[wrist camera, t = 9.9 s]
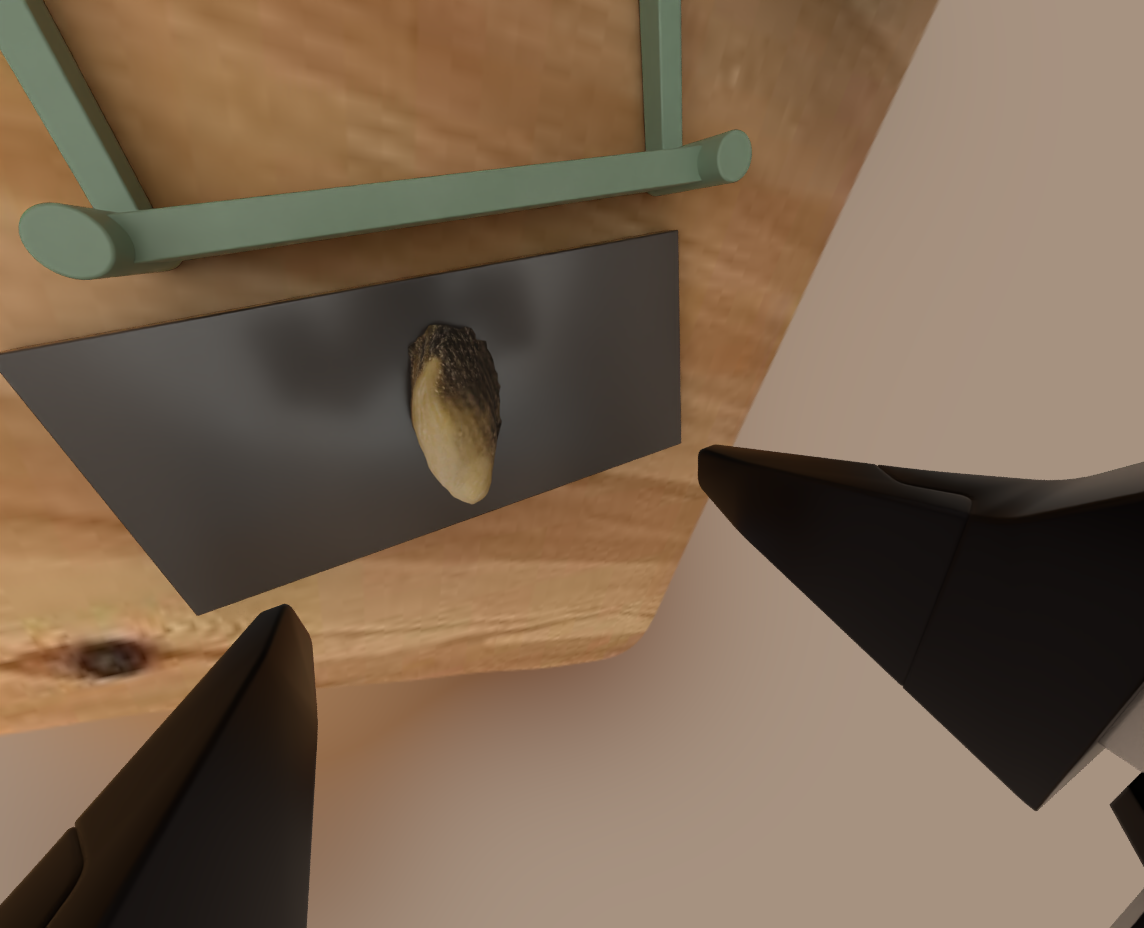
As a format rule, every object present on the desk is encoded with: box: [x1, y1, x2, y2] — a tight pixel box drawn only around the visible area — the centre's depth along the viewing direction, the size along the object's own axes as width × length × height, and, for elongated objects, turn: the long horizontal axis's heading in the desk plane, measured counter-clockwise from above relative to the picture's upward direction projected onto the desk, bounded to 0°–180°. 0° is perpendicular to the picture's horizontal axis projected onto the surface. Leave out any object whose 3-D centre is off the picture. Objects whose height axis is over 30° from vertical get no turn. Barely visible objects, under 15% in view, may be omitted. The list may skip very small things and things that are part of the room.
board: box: [0, 230, 681, 616], centre depth 17 cm, size 22×10×1 cm, turn 99°
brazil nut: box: [408, 325, 502, 504], centre depth 16 cm, size 6×5×3 cm
